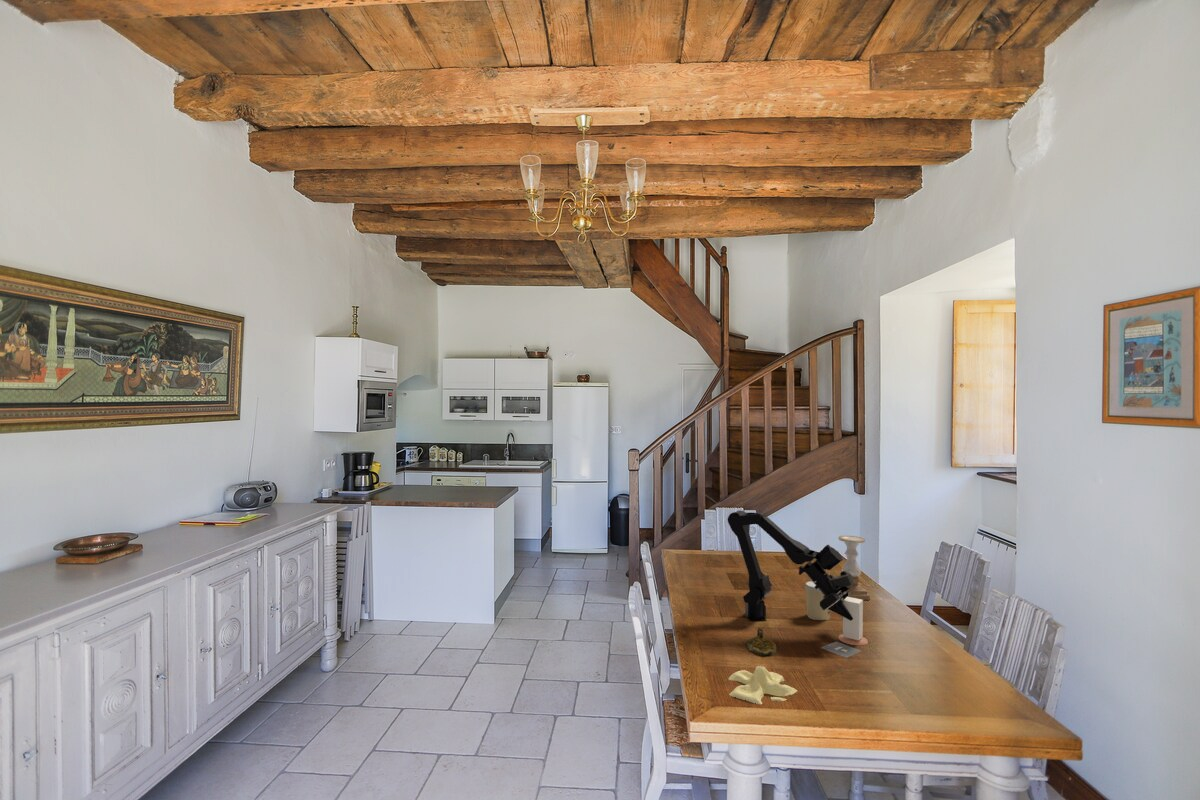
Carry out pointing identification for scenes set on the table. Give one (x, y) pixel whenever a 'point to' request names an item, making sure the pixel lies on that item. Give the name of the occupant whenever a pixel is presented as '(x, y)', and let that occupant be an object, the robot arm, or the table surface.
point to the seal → (761, 645)
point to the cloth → (759, 685)
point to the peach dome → (853, 640)
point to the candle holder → (853, 566)
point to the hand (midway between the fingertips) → (854, 617)
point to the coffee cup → (815, 603)
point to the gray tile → (841, 649)
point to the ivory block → (854, 626)
